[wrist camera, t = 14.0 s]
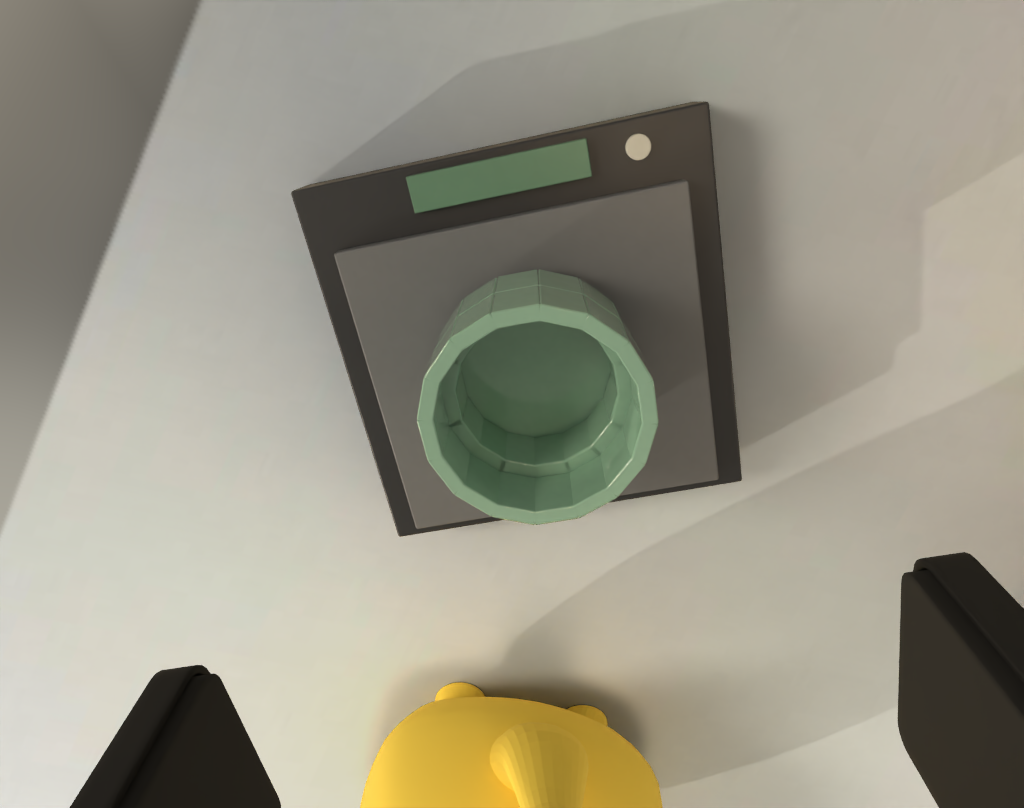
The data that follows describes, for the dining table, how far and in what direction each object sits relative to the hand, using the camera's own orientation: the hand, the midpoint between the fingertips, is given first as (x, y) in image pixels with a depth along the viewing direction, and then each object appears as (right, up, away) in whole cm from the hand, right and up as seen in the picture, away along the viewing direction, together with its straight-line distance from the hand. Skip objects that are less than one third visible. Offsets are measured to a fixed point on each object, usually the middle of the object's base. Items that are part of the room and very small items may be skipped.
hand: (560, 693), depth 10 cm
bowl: (0, +5, +16) cm, 17 cm away
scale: (0, +7, +18) cm, 19 cm away
